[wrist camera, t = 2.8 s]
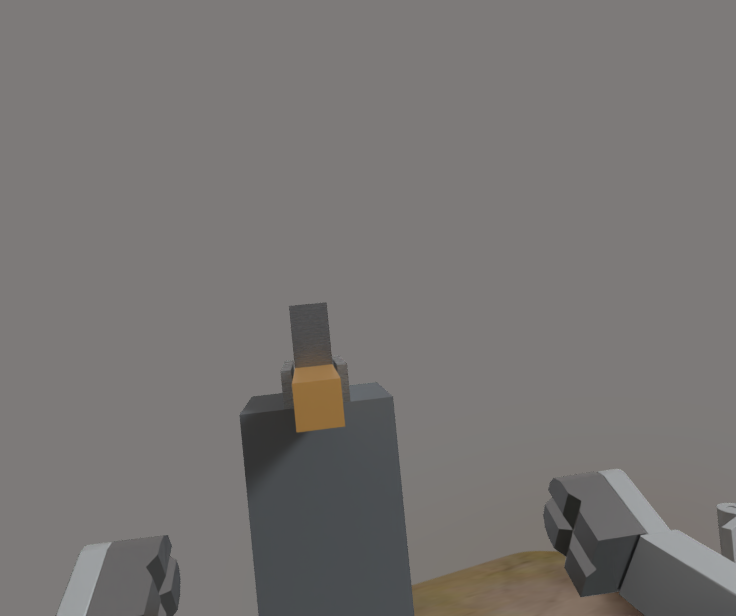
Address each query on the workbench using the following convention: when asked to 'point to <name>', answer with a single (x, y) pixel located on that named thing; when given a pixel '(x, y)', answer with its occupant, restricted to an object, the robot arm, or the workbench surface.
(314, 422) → the bar
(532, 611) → the workbench surface
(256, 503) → the stand
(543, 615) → the workbench surface
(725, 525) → the hinge
